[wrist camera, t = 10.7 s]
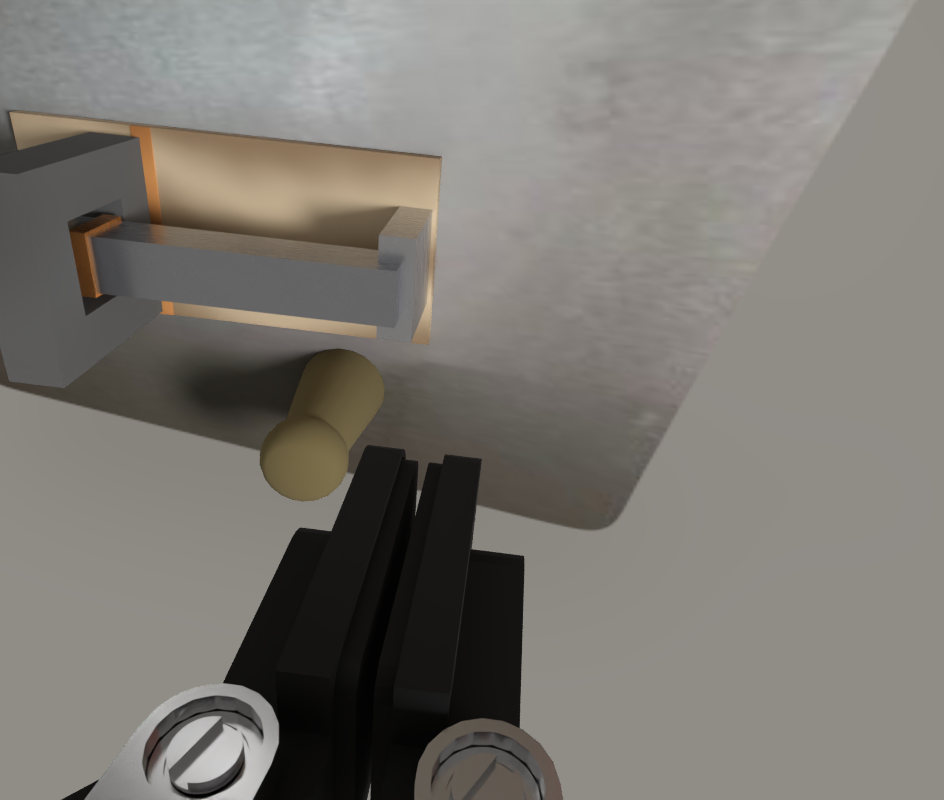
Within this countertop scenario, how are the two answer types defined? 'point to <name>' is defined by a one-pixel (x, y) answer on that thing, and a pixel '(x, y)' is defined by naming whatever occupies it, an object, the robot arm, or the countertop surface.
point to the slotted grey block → (64, 255)
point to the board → (266, 195)
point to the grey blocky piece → (262, 270)
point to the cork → (322, 425)
